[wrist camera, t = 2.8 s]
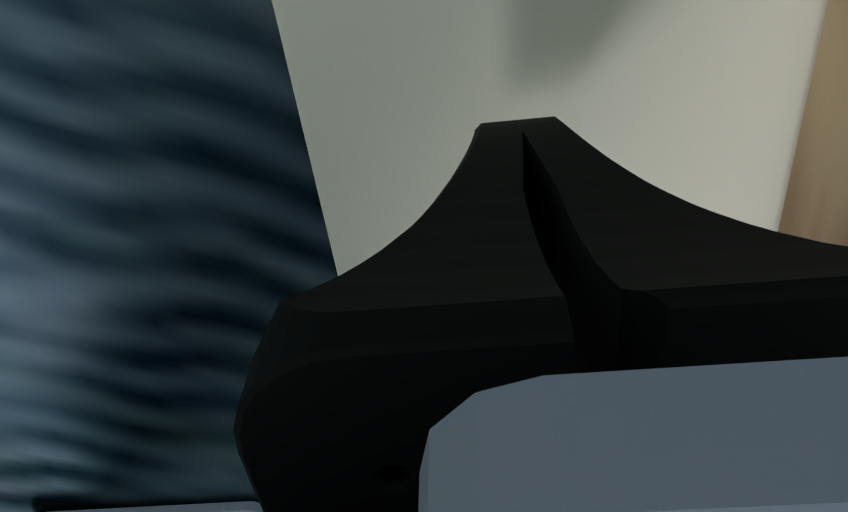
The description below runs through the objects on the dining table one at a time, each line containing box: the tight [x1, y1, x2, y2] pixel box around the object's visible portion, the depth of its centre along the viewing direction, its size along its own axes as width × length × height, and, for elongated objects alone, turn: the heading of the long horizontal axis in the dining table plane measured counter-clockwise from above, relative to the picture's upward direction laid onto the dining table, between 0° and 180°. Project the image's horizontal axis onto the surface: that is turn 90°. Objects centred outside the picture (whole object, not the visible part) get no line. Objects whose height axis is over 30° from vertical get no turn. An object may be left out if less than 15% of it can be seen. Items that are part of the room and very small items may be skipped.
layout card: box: [272, 0, 828, 276], centre depth 18 cm, size 26×24×1 cm
